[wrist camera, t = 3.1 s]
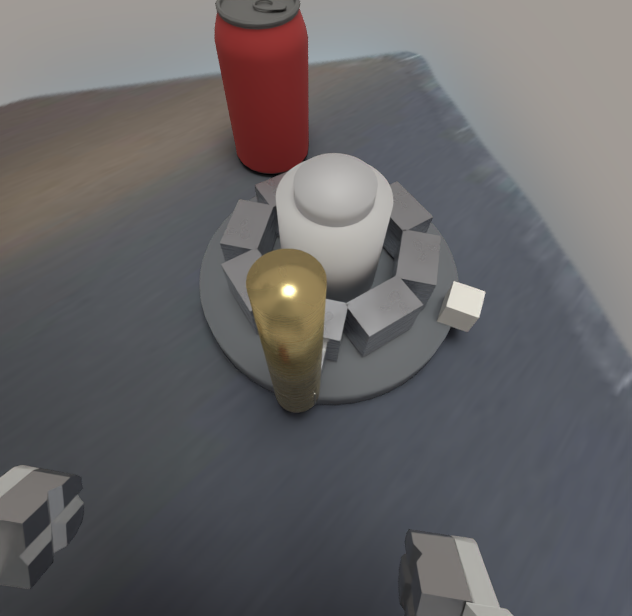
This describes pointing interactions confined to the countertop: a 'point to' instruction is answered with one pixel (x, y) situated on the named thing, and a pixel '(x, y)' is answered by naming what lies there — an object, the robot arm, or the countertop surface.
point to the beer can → (265, 80)
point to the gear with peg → (322, 292)
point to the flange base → (349, 359)
